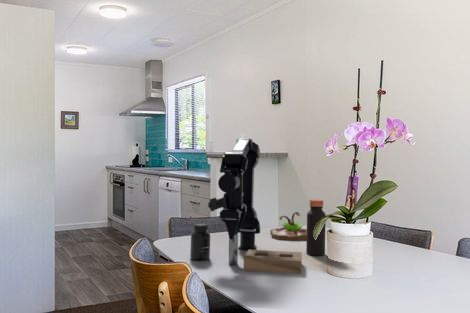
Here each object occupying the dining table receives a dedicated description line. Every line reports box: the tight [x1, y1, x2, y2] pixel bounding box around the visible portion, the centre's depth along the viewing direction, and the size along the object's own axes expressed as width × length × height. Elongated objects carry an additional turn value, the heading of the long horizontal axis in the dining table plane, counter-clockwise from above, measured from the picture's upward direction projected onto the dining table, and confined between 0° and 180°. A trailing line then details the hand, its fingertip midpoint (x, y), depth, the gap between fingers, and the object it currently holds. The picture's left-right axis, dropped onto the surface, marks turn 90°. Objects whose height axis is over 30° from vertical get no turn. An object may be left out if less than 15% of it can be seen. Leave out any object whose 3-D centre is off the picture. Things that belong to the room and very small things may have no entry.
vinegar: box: [305, 199, 327, 257], centre depth 164 cm, size 7×7×20 cm
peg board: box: [243, 249, 303, 275], centre depth 145 cm, size 12×18×4 cm, turn 81°
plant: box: [269, 211, 307, 242], centre depth 199 cm, size 20×20×11 cm
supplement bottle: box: [190, 223, 211, 262], centre depth 155 cm, size 7×7×12 cm
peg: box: [228, 233, 239, 266], centre depth 148 cm, size 3×3×10 cm
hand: (233, 236), depth 148 cm, fingers open, 9 cm apart
